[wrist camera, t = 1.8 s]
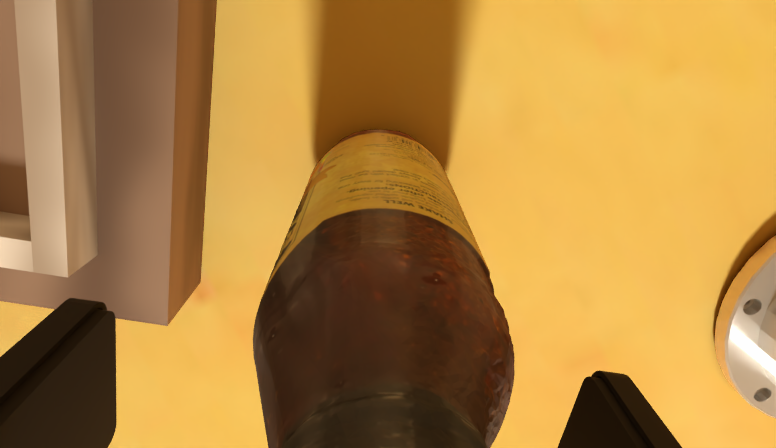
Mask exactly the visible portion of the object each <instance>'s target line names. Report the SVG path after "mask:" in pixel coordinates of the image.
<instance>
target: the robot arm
mask: <svg viewBox="0 0 776 448" xmlns="http://www.w3.org/2000/svg"><path fill="white" fill-rule="evenodd" d="M715 348H716V354H717V360H718V363H719V365H720V367H721V370H722V372H723V374H724V376H725V378H726V379H727V380H728V382H729V383H730V384H731V385H732V387H733V388H734V389H735V390H736V391H737V392H738V393H739V394H740V395H741V396H742V397H743V398H744V399H745V400H746V401H747V402H748V403H749V404H750V405H751V406H753V407H754V408H756V409H758V410H759V411H761V412H763V413H764V414H766V415H768V416H770V417H773V418H776V235H775V236H774V237H772V238H771V239H770V240H768V241H767V242H766V243H765V244H764V245H763V246H762V247H761V248H760V249H759V250H758V251H757V252H756V253H755V254H754V255H753V256H752V257H751V258H750V259H749V260H748V261H747V263H746V264H745V265H744V267H743V268H742V269H741V271H740V272H739V273H738V274H737V276H736V277H735V278H734V280H733V282H732V284H731V286H730V287H729V289H728V291H727V293H726V295H725V297H724V299H723V301H722V304H721V308H720V311H719V314H718V317H717V321H716V330H715ZM115 428H116V331H115V314H114V312H112V311H107V307H106V305H105V303H103V302H99V301H92V300H84V299H77V298H69V299H67V300H66V301H64V302H63V303H62V304H61V305H60V306H59V307H58V308H56V309H55V310H54V311H53V312H52V313H51V314H50V315H48V316H47V317H46V318H45V319H44V320H43V321H41V322H40V323H39V324H38V325H37V326H36V327H35V328H33V329H32V330H31V331H30V332H29V333H28V334H27V335H25V336H24V337H23V338H22V339H21V340H20V341H18V342H17V343H16V344H15V345H14V346H13V347H12V348H10V349H9V350H8V351H7V352H6V353H5V354H4V355H2V356H1V357H0V448H108V446H109V444H110V442H111V441H112V438H113V436H114V432H115ZM558 448H682V447H681V446H680V444H679V443H678V442H677V440H676V439H675V438H674V436H673V435H672V434H671V432H670V431H669V429H668V428H667V427H666V425H665V424H664V423H663V421H662V420H661V419H660V417H659V416H658V415H657V413H656V412H655V411H654V409H653V408H652V407H651V405H650V404H649V403H648V401H647V400H646V399H645V397H644V396H643V395H642V393H641V392H640V391H639V389H638V388H637V387H636V385H635V384H634V383H633V381H632V380H631V379H630V378H629V377H628V376H627V375H625V374H619V373H612V372H605V371H596V372H595V373H594V374H592V376H591V377H586V378H585V379H584V381H583V383H582V386H581V388H580V391H579V394H578V396H577V399H576V401H575V404H574V407H573V409H572V412H571V414H570V417H569V420H568V422H567V425H566V427H565V430H564V433H563V435H562V438H561V440H560V443H559V446H558Z"/></svg>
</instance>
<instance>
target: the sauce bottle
mask: <svg viewBox="0 0 776 448" xmlns="http://www.w3.org/2000/svg"><path fill="white" fill-rule="evenodd" d="M253 351H254V360H255V365H256V371H257V378H258V384H259V391H260V397H261V404H262V410H263V416H264V422H265V429H266V435H267V441H268V447H269V448H490V447H491V445H492V443H493V442H494V440H495V438H496V436H497V434H498V432H499V430H500V428H501V425H502V423H503V420H504V417H505V414H506V411H507V409H508V405H509V402H510V397H511V393H512V387H513V381H514V351H513V344H512V341H511V336H510V334H509V326H508V322H507V320H506V318H505V314H504V310H503V308H502V307H501V305H500V303H499V302H498V300H497V299H496V297H495V296H494V289H493V285H492V282H491V279H490V272H489V270H488V267H487V265H486V263H485V260H484V258H483V256H482V254H481V251H480V249H479V247H478V245H477V242H476V240H475V238H474V235H473V233H472V231H471V229H470V226H469V224H468V222H467V220H466V218H465V215H464V213H463V211H462V208H461V206H460V204H459V202H458V199H457V197H456V195H455V192H454V190H453V188H452V186H451V184H450V181H449V179H448V177H447V175H446V173H445V171H444V169H443V168H442V166H441V165H440V163H439V162H438V160H437V159H436V158H435V157H434V156H433V155H432V154H431V152H429V151H428V150H427V149H426V148H425V147H424V146H422V145H421V144H420V143H418V142H417V141H416V140H415V139H413V138H412V137H411V136H409V135H407V134H404V133H402V132H400V131H391V130H365V131H360V132H356V133H353V134H351V135H349V136H347V137H346V138H343V139H342V140H341V141H340V142H339V143H338V144H337V145H335V147H333V148H332V149H331V150H330V151H328V152H327V153H326V154H325V155H324V157H323V158H322V159H321V160H320V161H319V162H318V164H317V165H316V167H315V168H314V170H313V172H312V174H311V177H310V179H309V182H308V185H307V187H306V189H305V192H304V195H303V197H302V200H301V202H300V205H299V206H298V210H297V211H296V214H295V216H294V219H293V221H292V224H291V226H290V228H289V231H288V233H287V236H286V238H285V241H284V243H283V245H282V248H281V251H280V254H279V257H278V259H277V261H276V263H275V266H274V269H273V271H272V273H271V276H270V279H269V281H268V283H267V286H266V289H265V291H264V294H263V297H262V299H261V302H260V305H259V309H258V312H257V315H256V319H255V325H254V334H253Z"/></svg>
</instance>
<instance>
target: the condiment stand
mask: <svg viewBox="0 0 776 448" xmlns="http://www.w3.org/2000/svg"><path fill="white" fill-rule="evenodd" d="M216 2H217V0H0V301H4V302H11V303H18V304H24V305H31V306H38V307H44V308H51V309H56V308H58V307H59V306H60V305H61V304H62V303H63V302H64V301H66V300H67V299H69V298H77V299H84V300H92V301H99V302H103V303H105V305H106V307H107V311H112V312H114V314H115V318H118V319H125V320H132V321H138V322H145V323H152V324H158V325H165V326H168V324H169V323H170V322H171V320H172V319H173V318H174V316H175V315H176V314H177V312H178V311H179V310H180V308H181V307H182V306H183V305H184V303H185V302H186V301H187V299H188V298H189V297H190V295H191V294H192V293H193V291H194V290H195V289H196V287H197V286H198V285H199V283H200V278H201V261H202V244H203V226H204V209H205V192H206V174H207V157H208V140H209V123H210V105H211V88H212V71H213V53H214V36H215V19H216Z"/></svg>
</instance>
